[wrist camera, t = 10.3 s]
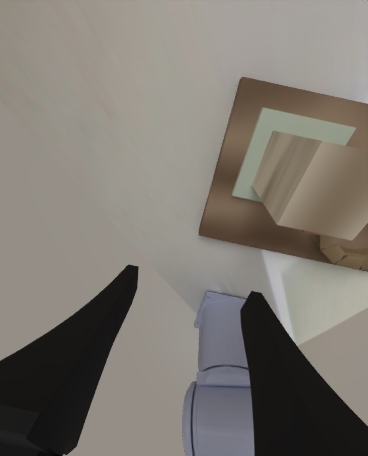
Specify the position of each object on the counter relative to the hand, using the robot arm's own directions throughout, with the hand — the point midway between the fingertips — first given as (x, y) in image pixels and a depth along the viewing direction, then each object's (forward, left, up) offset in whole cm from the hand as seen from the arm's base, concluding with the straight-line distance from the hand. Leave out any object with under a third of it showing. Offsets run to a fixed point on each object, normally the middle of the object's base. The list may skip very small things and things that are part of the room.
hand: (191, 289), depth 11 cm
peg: (+7, -6, -9) cm, 13 cm away
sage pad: (+7, -6, -9) cm, 13 cm away
